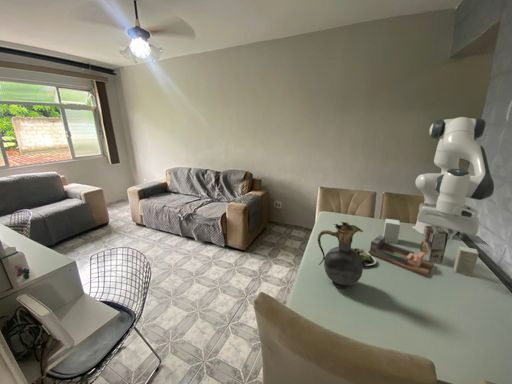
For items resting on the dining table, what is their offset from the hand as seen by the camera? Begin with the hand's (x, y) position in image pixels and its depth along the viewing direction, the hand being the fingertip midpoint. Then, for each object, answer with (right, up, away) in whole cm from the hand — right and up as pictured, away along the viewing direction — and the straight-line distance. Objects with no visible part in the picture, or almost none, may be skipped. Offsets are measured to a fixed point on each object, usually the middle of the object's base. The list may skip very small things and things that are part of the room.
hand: (442, 236), depth 96 cm
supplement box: (-2, -10, +36) cm, 37 cm away
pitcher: (-47, -21, +1) cm, 51 cm away
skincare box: (+14, -18, +5) cm, 24 cm away
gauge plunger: (-5, -15, +10) cm, 19 cm away
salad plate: (-30, -16, +18) cm, 39 cm away
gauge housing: (-9, -16, +16) cm, 24 cm away
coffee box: (+9, -15, +17) cm, 25 cm away
